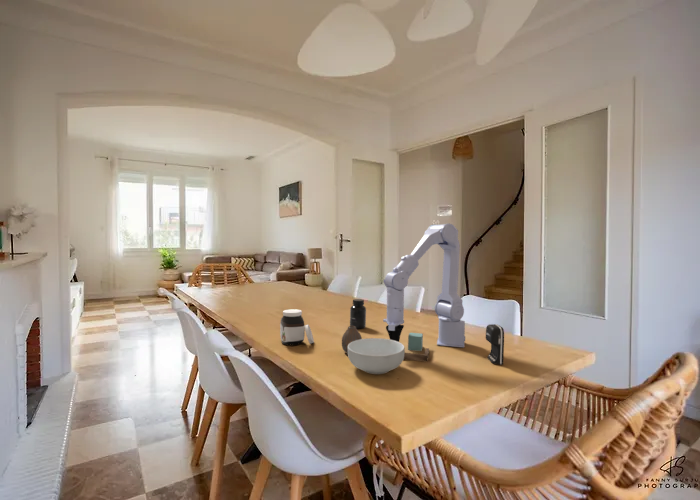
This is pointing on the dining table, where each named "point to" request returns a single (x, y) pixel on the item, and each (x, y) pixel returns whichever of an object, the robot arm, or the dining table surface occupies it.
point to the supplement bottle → (358, 314)
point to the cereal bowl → (376, 354)
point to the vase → (350, 337)
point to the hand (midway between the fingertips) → (394, 346)
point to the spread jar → (294, 328)
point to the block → (415, 341)
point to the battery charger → (495, 343)
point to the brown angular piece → (417, 356)
